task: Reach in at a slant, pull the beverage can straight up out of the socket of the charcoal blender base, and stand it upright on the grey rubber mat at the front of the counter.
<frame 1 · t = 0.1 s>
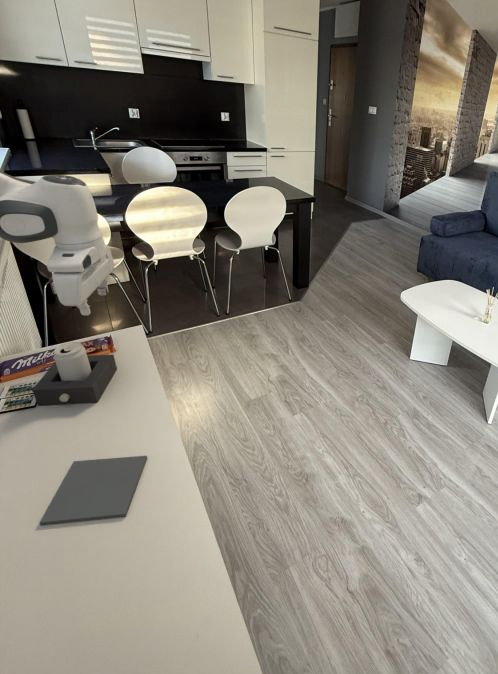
hand: (95, 303, 95), 23 cm above the table, tool pointing down, fingers open, 8 cm apart
blender base: (80, 386, 102), on the table
mat: (98, 488, 77), on the table
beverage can: (80, 386, 102), resting in blender base
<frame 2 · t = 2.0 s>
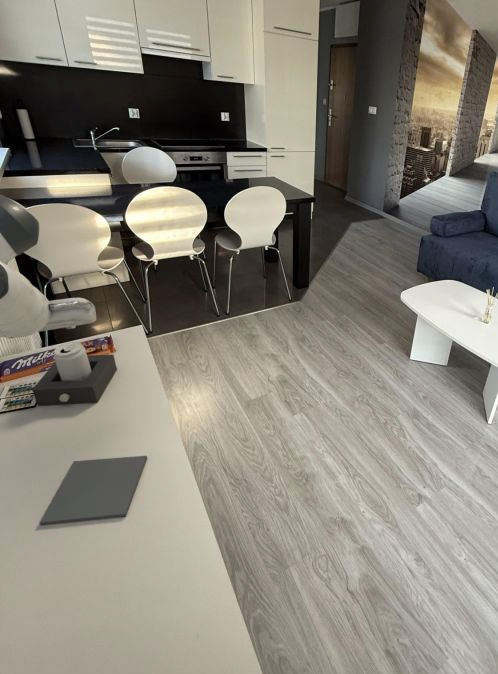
hand: (43, 329, 80), 25 cm above the table, tool tilted 45°, fingers open, 8 cm apart
nothing on the table moved.
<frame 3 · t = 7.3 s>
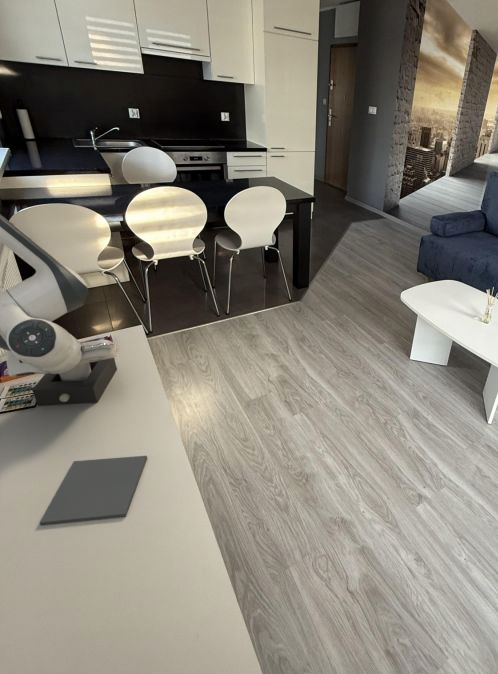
hand: (73, 362, 99), 7 cm above the table, tool tilted 45°, fingers closed on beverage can, 6 cm apart
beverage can: (80, 386, 102), resting in blender base, touching gripper
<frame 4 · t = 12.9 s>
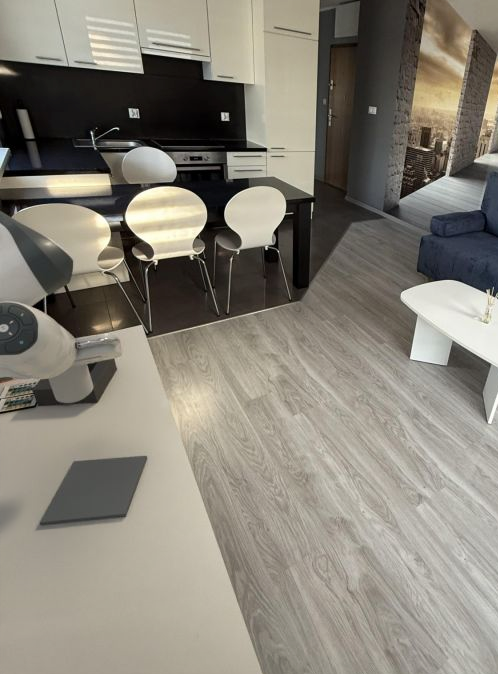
hand: (66, 364, 77), 22 cm above the table, tool tilted 45°, fingers closed on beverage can, 6 cm apart
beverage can: (76, 395, 80), point 14 cm above the table, touching gripper
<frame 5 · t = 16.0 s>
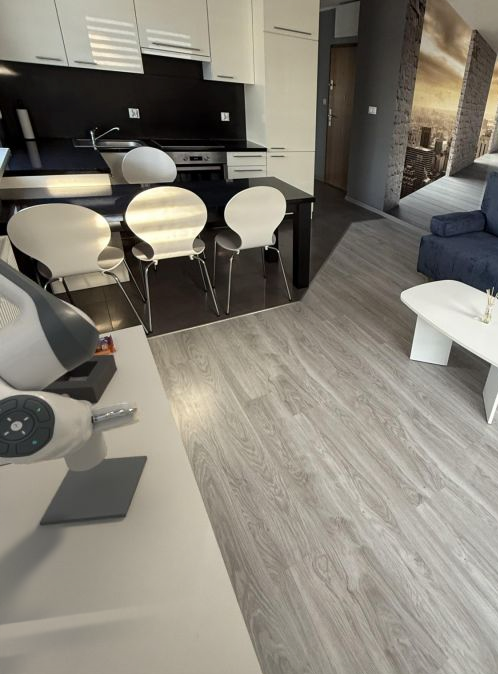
hand: (79, 429, 71), 16 cm above the table, tool tilted 45°, fingers closed on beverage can, 6 cm apart
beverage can: (88, 460, 74), point 8 cm above the table, touching gripper
when the fingers open (8 cm above the table, at t = 18.6 s): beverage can stays where it is, resting on mat.
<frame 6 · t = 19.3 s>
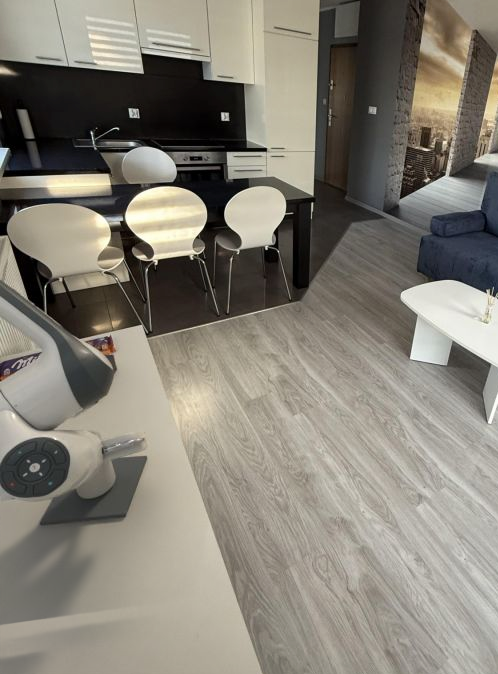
hand: (89, 455, 74), 9 cm above the table, tool tilted 45°, fingers open, 8 cm apart
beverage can: (97, 486, 77), point 1 cm above the table, touching mat
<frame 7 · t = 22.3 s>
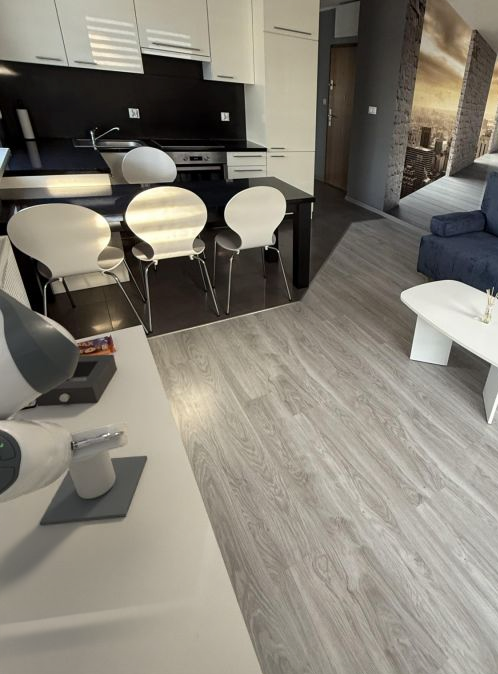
hand: (60, 451, 64), 18 cm above the table, tool tilted 45°, fingers open, 8 cm apart
nothing on the table moved.
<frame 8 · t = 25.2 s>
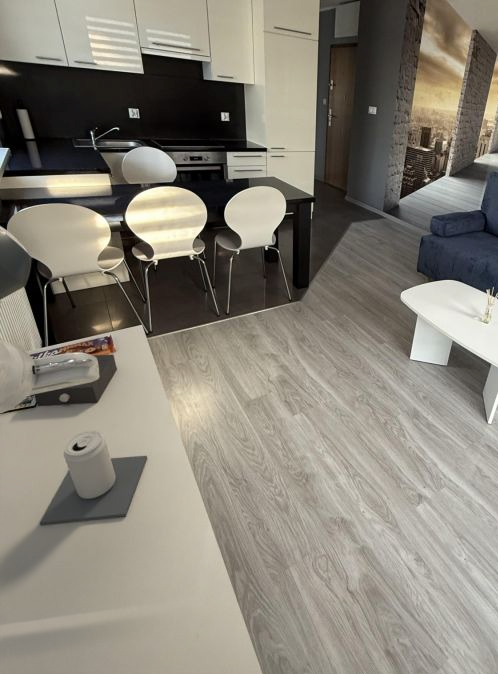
hand: (28, 388, 60), 29 cm above the table, tool tilted 45°, fingers open, 8 cm apart
nothing on the table moved.
at the end: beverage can inside the target area on the mat (0.0 cm from its centre), point 0.6 cm above the mat's base; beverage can tilted 0°; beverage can moved 34.9 cm from its start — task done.
